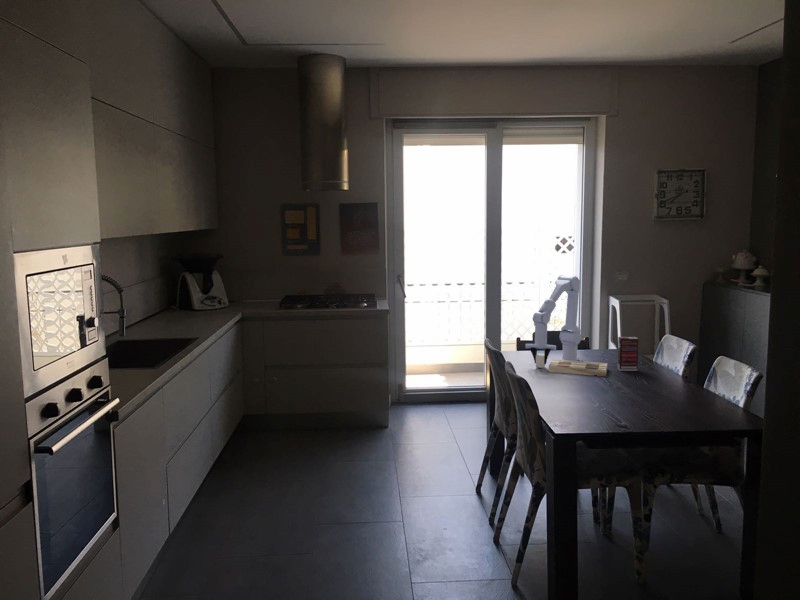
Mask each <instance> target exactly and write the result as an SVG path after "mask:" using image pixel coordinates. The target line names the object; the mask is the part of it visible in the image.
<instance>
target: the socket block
mask: <svg viewBox="0 0 800 600" xmlns="http://www.w3.org/2000/svg"><path fill="white" fill-rule="evenodd" d="M608 365H609V364H608V362H596V361H595V362H594V361H584V360H583V361H581V360H580V361H579V360H578V361H569V360H562V359H553V358H552V360H551V362H550V363H549V365H548V373H559V374H569V375H570V374H572V375H582V374H583V375H585V376H594V375H597V376H596V377H606V376H607V372H608Z"/></svg>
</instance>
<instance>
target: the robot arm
mask: <svg viewBox="0 0 800 600" xmlns="http://www.w3.org/2000/svg"><path fill="white" fill-rule="evenodd" d="M580 286H581V280H580V279H579V277H578V276H573V275H571V276H570V275H564V274H563V275H562V274H560V275H558V277H557V279H556V280H555V287H554V289H553V290H552V293H551V294H550V296H549V298H548V299H547V298H546V299H545V300H544V302H543V303H542V304H541V306H540V308H539V309H538V311H535V313H533V316H532V321H533V325H534V343H525V349H530V352H531V355H532V357H533V360H534V364H536V354H538V350H543V354H545V359H544V364H545V365H546V364H547V360H548V357H549V355H550V352H551V350H552V351H556V350H557V345H555V344H554V345H553V344H548V324H549V322H550V321H551V316H552V313H553V311H554V310H555V308H556V307H557V305H556V302H557V301H558V300H559V298H560V297H561V296H562V294H563V293H564V292H565V293H566V294H567V300H566V315H565V324H564V325H563V326H561V328H560V333H559V340H560V341H561V344H562V358H561V360H569V361H579V360H580V359H579V357H578V345H579V344H580V343H581V341H582V334H581V329H580V328H579V327H578V325H577V322H578V310H579V309H578V308H579V295H580V290H581V289H580V288H581V287H580Z"/></svg>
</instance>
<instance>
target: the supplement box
mask: <svg viewBox="0 0 800 600" xmlns="http://www.w3.org/2000/svg"><path fill="white" fill-rule="evenodd" d="M617 339H618V340H617V370H618V371H622V372H635V371H636V372H638V370H639V369H638V367H639V338H638V337H637V336H618V337H617Z"/></svg>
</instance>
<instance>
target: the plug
mask: <svg viewBox="0 0 800 600" xmlns="http://www.w3.org/2000/svg"><path fill="white" fill-rule="evenodd" d="M544 359H545V353H537V354H536V363H535V368H541V369H543V368H545V367H546V364H544Z"/></svg>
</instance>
